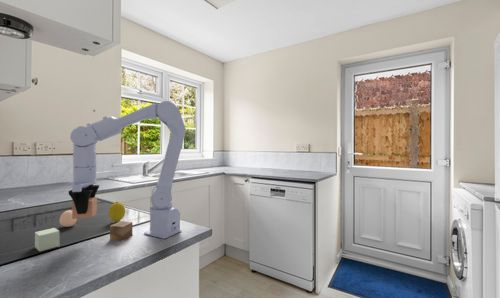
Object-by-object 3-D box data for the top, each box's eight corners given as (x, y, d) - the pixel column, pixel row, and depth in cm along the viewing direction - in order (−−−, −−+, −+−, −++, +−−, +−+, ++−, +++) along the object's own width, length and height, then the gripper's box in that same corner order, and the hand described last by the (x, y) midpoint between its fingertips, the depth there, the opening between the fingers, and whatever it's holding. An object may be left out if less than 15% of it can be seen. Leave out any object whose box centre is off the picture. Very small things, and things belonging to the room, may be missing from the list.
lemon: (118, 225, 87) (117, 203, 87) (105, 224, 88) (105, 202, 88) (128, 220, 92) (128, 200, 92) (116, 219, 94) (116, 199, 93)
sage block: (59, 246, 69) (59, 231, 69) (39, 251, 66) (39, 235, 65) (54, 242, 72) (54, 227, 72) (35, 247, 68) (34, 232, 68)
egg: (57, 226, 85) (57, 210, 85) (75, 223, 89) (75, 207, 89) (61, 230, 82) (61, 213, 81) (78, 226, 85) (78, 210, 85)
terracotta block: (96, 212, 75) (96, 197, 75) (92, 217, 71) (92, 200, 71) (78, 214, 74) (78, 198, 74) (72, 219, 69) (72, 202, 69)
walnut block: (132, 235, 77) (132, 222, 77) (122, 241, 73) (122, 226, 73) (120, 234, 78) (120, 221, 78) (110, 240, 74) (109, 225, 74)
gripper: (77, 165, 77) (78, 206, 78) (58, 169, 64) (59, 219, 64) (102, 164, 80) (102, 204, 80) (89, 168, 66) (89, 217, 66)
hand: (85, 211), depth 72 cm, fingers closed on terracotta block, 5 cm apart
